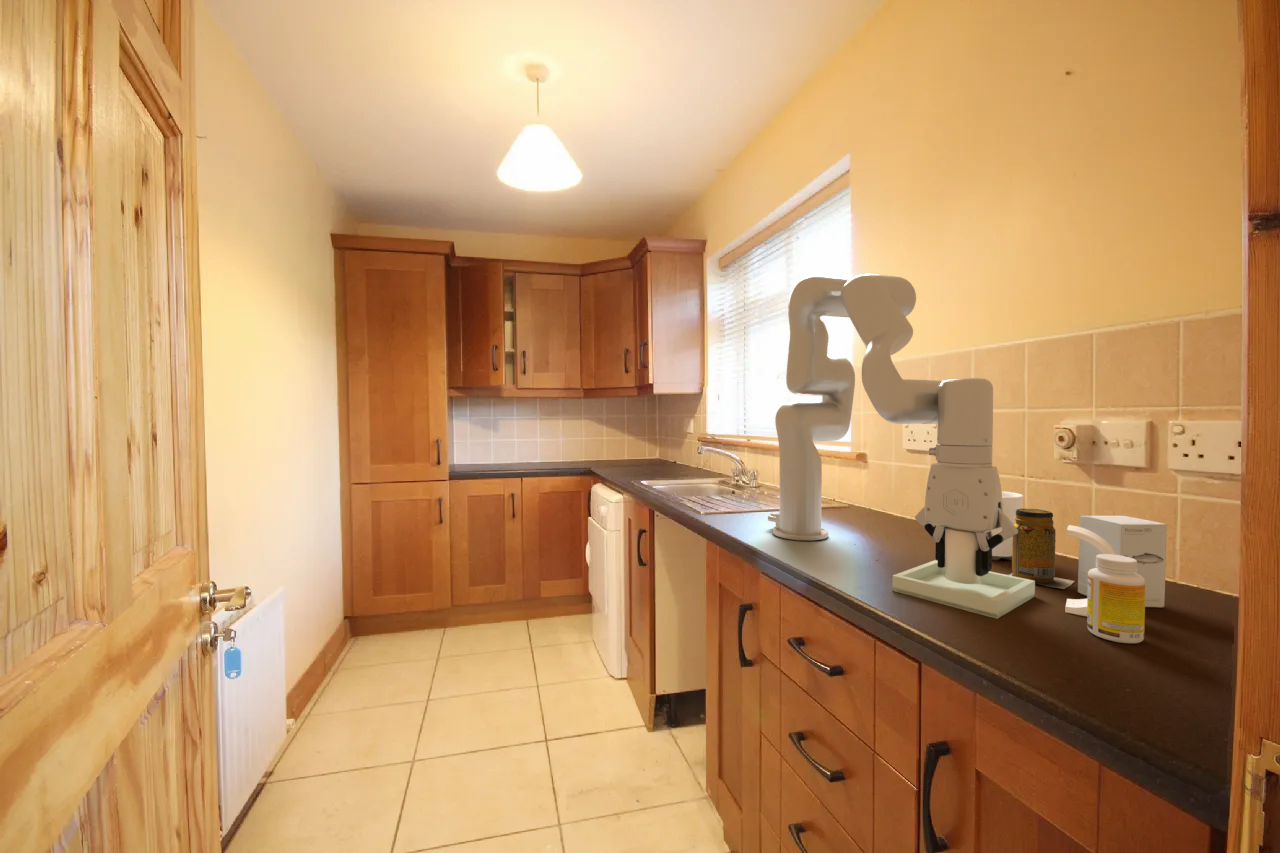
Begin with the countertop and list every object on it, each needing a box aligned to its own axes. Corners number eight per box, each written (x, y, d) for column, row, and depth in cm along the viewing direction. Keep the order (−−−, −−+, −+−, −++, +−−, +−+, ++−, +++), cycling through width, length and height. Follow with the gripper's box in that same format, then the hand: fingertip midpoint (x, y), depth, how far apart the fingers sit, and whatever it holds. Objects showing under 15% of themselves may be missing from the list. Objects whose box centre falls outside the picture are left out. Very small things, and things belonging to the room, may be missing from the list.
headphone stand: (1067, 603, 81) (1068, 524, 81) (1120, 613, 77) (1122, 530, 77) (1064, 612, 78) (1066, 529, 77) (1120, 623, 74) (1122, 536, 73)
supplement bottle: (1156, 645, 67) (1158, 563, 66) (1111, 645, 67) (1113, 563, 66) (1117, 627, 72) (1119, 552, 72) (1075, 627, 72) (1077, 552, 72)
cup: (953, 550, 113) (953, 490, 112) (997, 549, 113) (998, 489, 113) (986, 563, 103) (987, 497, 103) (1035, 562, 103) (1036, 496, 103)
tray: (892, 590, 87) (892, 575, 87) (935, 573, 96) (935, 560, 96) (997, 618, 75) (997, 601, 75) (1034, 596, 84) (1034, 580, 84)
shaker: (938, 578, 86) (939, 521, 86) (952, 572, 89) (953, 517, 89) (973, 586, 82) (973, 526, 82) (986, 580, 85) (987, 522, 85)
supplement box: (1118, 609, 79) (1120, 523, 79) (1076, 592, 86) (1077, 514, 86) (1167, 608, 79) (1169, 523, 79) (1120, 592, 87) (1122, 513, 86)
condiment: (1016, 570, 98) (1017, 505, 98) (1075, 582, 92) (1076, 512, 91) (1003, 578, 94) (1004, 510, 93) (1063, 591, 87) (1064, 517, 87)
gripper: (899, 454, 90) (898, 562, 90) (1017, 461, 76) (1016, 588, 77) (920, 452, 94) (919, 555, 95) (1036, 458, 81) (1034, 578, 81)
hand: (962, 569), depth 86 cm, fingers closed on shaker, 5 cm apart
